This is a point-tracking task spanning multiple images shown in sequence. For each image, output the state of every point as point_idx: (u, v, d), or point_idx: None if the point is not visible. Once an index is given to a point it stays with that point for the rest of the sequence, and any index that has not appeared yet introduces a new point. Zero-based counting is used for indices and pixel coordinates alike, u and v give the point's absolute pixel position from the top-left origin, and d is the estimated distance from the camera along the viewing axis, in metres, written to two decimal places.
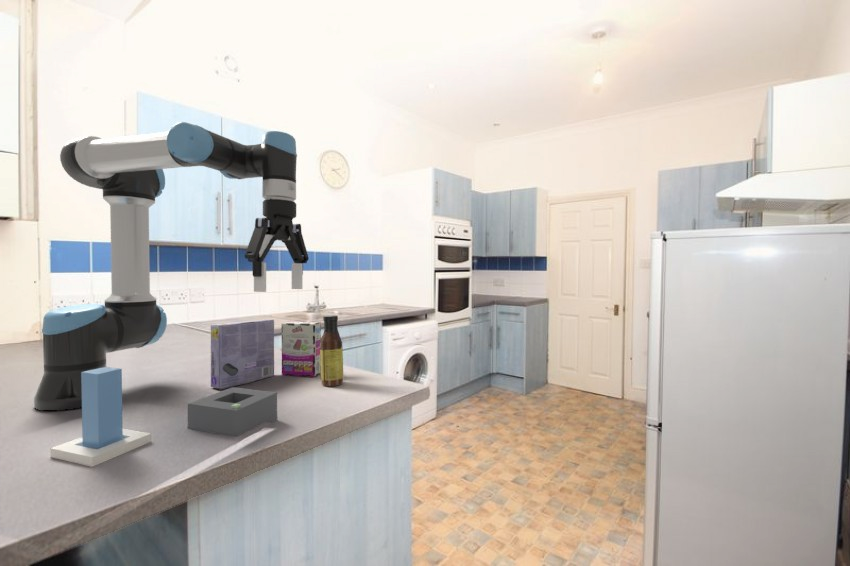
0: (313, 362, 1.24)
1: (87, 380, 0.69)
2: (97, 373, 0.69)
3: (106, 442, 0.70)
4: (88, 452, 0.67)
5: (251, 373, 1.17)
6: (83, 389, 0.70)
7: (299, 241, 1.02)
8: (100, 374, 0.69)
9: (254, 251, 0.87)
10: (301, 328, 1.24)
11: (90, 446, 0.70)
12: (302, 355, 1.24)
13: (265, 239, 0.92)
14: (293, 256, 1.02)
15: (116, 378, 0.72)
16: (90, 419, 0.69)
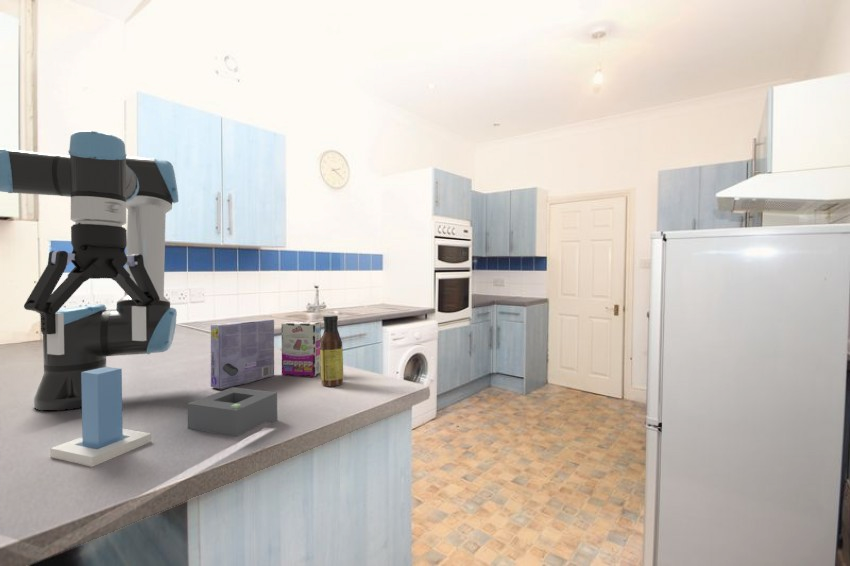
0: (313, 362, 1.24)
1: (87, 380, 0.69)
2: (97, 373, 0.69)
3: (106, 442, 0.70)
4: (88, 452, 0.67)
5: (251, 373, 1.17)
6: (83, 389, 0.70)
7: (141, 277, 0.77)
8: (100, 374, 0.69)
9: (36, 300, 0.61)
10: (301, 328, 1.24)
11: (90, 446, 0.70)
12: (302, 355, 1.24)
13: (68, 280, 0.66)
14: (132, 297, 0.77)
15: (116, 378, 0.72)
16: (90, 419, 0.69)
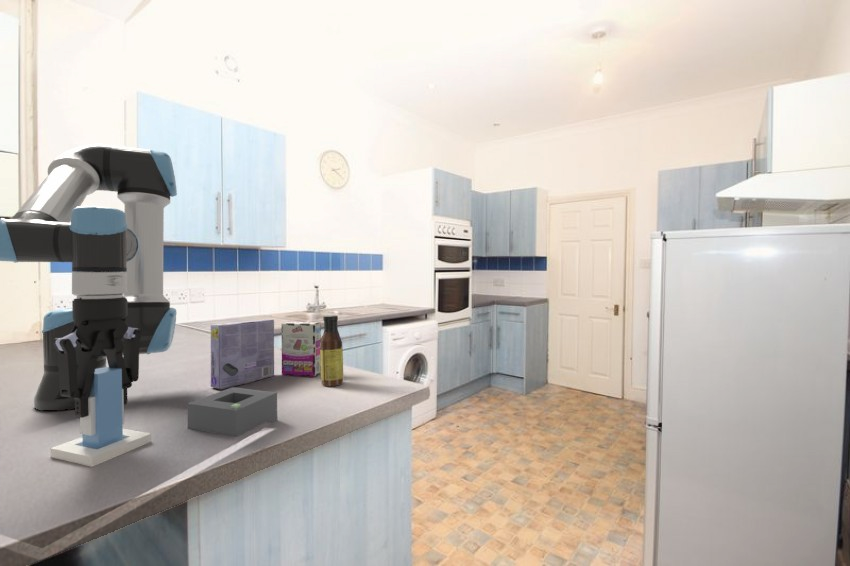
0: (313, 362, 1.24)
1: None
2: (97, 373, 0.69)
3: (106, 442, 0.70)
4: (88, 452, 0.67)
5: (251, 373, 1.17)
6: None
7: (131, 351, 0.75)
8: (100, 374, 0.69)
9: (69, 390, 0.66)
10: (301, 328, 1.24)
11: (90, 446, 0.70)
12: (302, 355, 1.24)
13: (83, 361, 0.69)
14: None
15: (116, 378, 0.72)
16: None
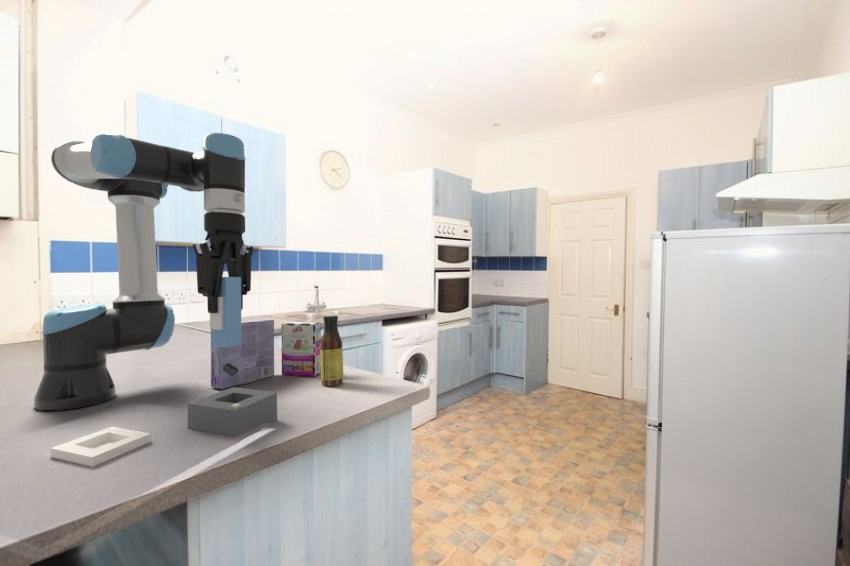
0: (313, 362, 1.24)
1: None
2: (224, 277, 0.81)
3: (231, 337, 0.82)
4: (88, 452, 0.67)
5: (251, 373, 1.17)
6: None
7: (245, 265, 0.87)
8: (227, 278, 0.81)
9: (206, 287, 0.77)
10: (301, 328, 1.24)
11: (218, 340, 0.81)
12: (302, 355, 1.24)
13: (213, 265, 0.80)
14: None
15: (237, 284, 0.83)
16: None
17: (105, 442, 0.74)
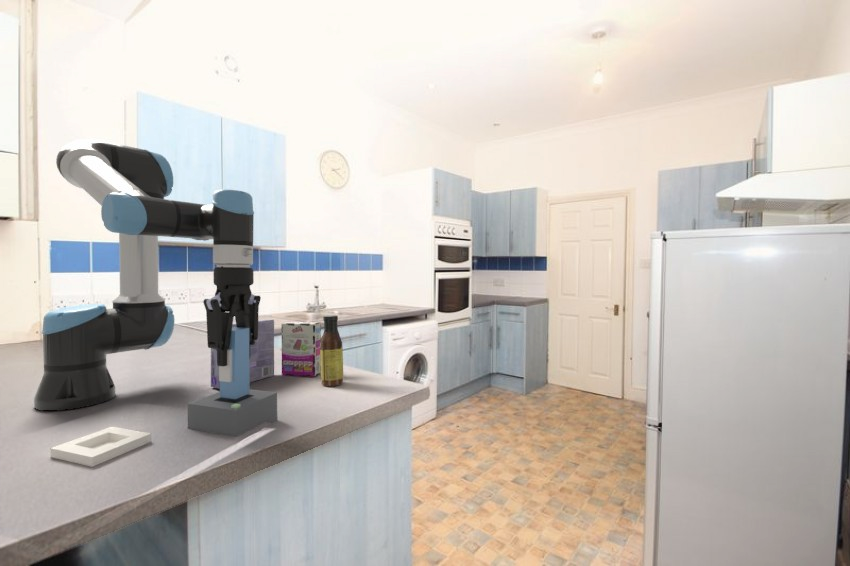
0: (313, 362, 1.24)
1: None
2: (234, 330, 0.82)
3: (240, 388, 0.84)
4: (88, 452, 0.67)
5: (251, 373, 1.17)
6: None
7: (252, 314, 0.89)
8: (236, 331, 0.82)
9: (216, 342, 0.79)
10: (301, 328, 1.24)
11: (227, 391, 0.83)
12: (302, 355, 1.24)
13: (222, 319, 0.82)
14: None
15: (246, 335, 0.85)
16: None
17: (105, 442, 0.74)
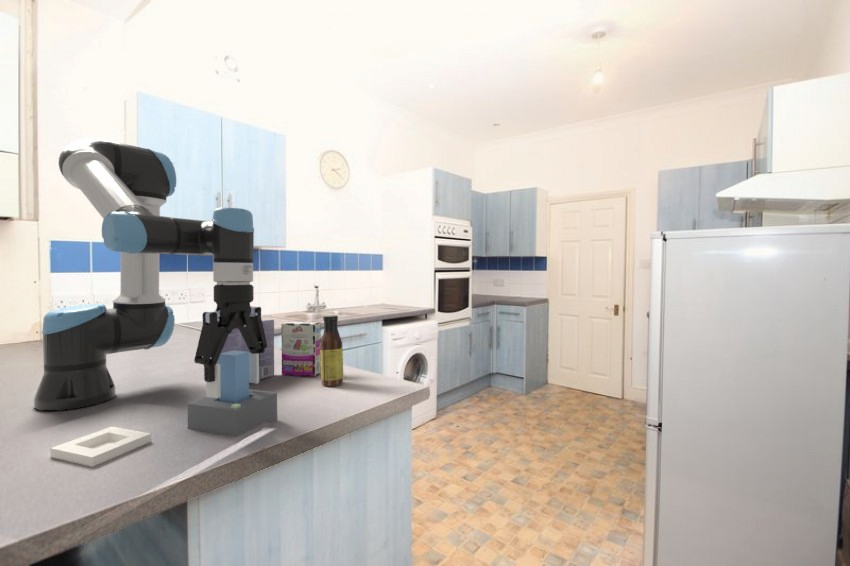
0: (313, 362, 1.24)
1: (224, 360, 0.83)
2: (233, 354, 0.83)
3: None
4: (88, 452, 0.67)
5: None
6: (221, 368, 0.83)
7: (257, 326, 0.90)
8: (236, 355, 0.83)
9: (204, 356, 0.76)
10: (301, 328, 1.24)
11: None
12: (302, 355, 1.24)
13: (217, 334, 0.81)
14: (248, 344, 0.89)
15: (246, 359, 0.85)
16: (227, 393, 0.83)
17: (105, 442, 0.74)
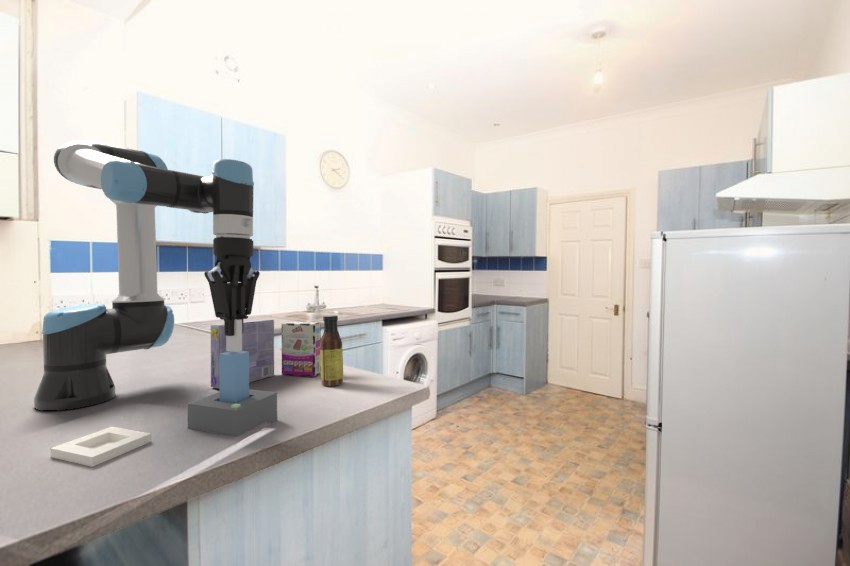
0: (313, 362, 1.24)
1: (224, 360, 0.83)
2: (233, 354, 0.83)
3: None
4: (88, 452, 0.67)
5: (251, 373, 1.17)
6: (221, 368, 0.83)
7: (249, 288, 0.87)
8: (236, 355, 0.83)
9: (223, 312, 0.80)
10: (301, 328, 1.24)
11: None
12: (302, 355, 1.24)
13: (225, 290, 0.82)
14: None
15: (246, 359, 0.85)
16: (227, 393, 0.83)
17: (105, 442, 0.74)
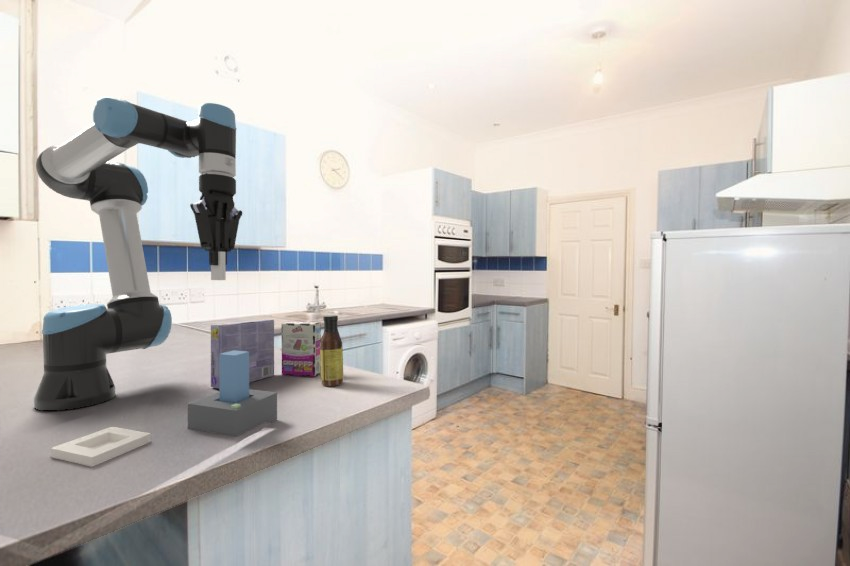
0: (313, 362, 1.24)
1: (224, 360, 0.83)
2: (233, 354, 0.83)
3: None
4: (88, 452, 0.67)
5: (251, 373, 1.17)
6: (221, 368, 0.83)
7: (232, 225, 0.96)
8: (236, 355, 0.83)
9: (207, 241, 0.89)
10: (301, 328, 1.24)
11: None
12: (302, 355, 1.24)
13: (210, 223, 0.91)
14: None
15: (246, 359, 0.85)
16: (227, 393, 0.83)
17: (105, 442, 0.74)
